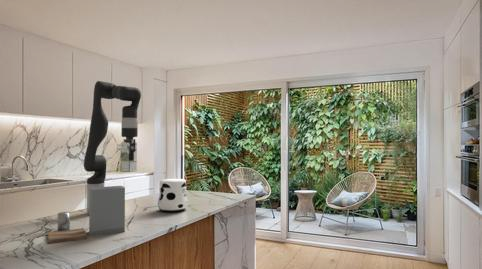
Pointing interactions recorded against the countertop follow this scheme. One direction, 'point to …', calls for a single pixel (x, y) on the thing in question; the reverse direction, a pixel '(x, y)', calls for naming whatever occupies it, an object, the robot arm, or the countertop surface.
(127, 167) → the syrup box
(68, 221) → the metal cylinder
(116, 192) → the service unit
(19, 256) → the countertop surface
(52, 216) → the countertop surface
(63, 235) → the board
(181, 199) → the milk container
